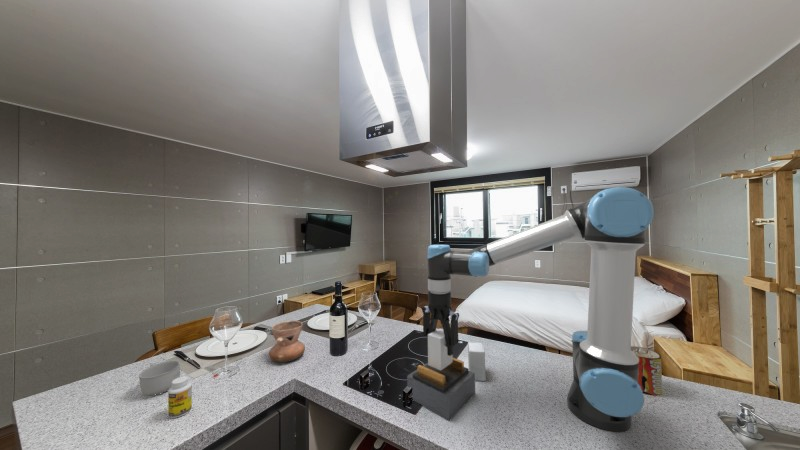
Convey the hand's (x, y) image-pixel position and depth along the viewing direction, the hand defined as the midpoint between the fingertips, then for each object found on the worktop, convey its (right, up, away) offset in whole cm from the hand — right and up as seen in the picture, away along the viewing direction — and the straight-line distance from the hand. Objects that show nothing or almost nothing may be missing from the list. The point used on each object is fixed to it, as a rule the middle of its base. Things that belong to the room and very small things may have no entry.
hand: (440, 361), depth 87 cm
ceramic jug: (-63, -13, +29) cm, 70 cm away
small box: (+15, -11, +12) cm, 22 cm away
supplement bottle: (-82, -13, -6) cm, 83 cm away
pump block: (0, -1, 0) cm, 1 cm away
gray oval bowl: (-100, -14, +7) cm, 101 cm away
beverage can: (+70, -10, +2) cm, 70 cm away
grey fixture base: (0, -11, 0) cm, 11 cm away
